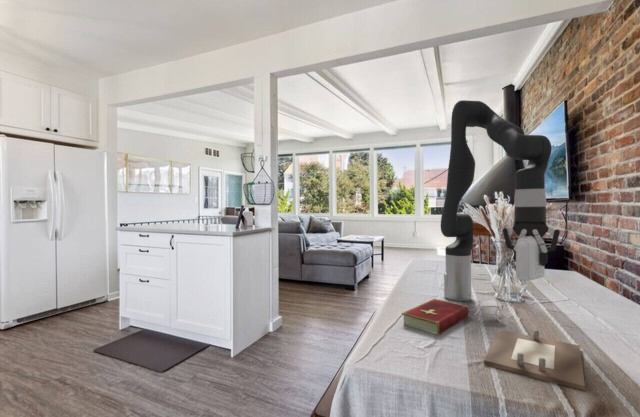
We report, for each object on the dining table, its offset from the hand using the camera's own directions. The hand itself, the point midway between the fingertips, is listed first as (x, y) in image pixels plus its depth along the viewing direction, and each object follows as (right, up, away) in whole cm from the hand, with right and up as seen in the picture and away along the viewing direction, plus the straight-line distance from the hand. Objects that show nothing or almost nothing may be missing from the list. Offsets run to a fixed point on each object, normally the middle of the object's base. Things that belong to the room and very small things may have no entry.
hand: (530, 264), depth 91 cm
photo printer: (0, -4, 0) cm, 4 cm away
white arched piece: (-4, -20, +13) cm, 24 cm away
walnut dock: (-8, -20, -14) cm, 26 cm away
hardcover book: (-23, -21, +11) cm, 33 cm away
